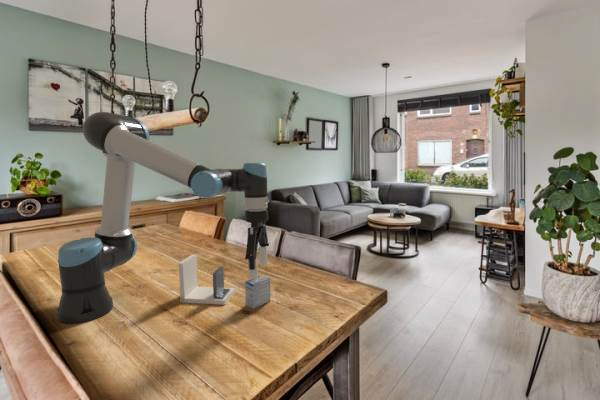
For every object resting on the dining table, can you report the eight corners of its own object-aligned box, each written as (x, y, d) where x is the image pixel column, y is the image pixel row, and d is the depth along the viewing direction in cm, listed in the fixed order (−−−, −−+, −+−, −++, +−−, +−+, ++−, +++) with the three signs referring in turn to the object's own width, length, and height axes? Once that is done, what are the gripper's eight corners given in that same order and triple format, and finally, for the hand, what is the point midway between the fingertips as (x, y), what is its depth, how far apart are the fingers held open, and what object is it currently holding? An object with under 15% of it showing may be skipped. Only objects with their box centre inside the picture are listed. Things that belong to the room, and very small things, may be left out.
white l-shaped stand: (180, 302, 112) (178, 263, 110) (194, 289, 122) (192, 254, 120) (225, 304, 110) (223, 265, 108) (234, 292, 120) (233, 255, 118)
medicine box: (262, 297, 115) (261, 274, 114) (270, 301, 113) (270, 277, 112) (245, 305, 109) (244, 281, 108) (254, 309, 107) (253, 284, 105)
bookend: (213, 298, 111) (212, 273, 110) (221, 290, 118) (220, 266, 117) (223, 298, 111) (222, 273, 110) (229, 290, 118) (229, 266, 117)
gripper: (258, 216, 94) (260, 285, 97) (275, 204, 118) (276, 259, 121) (233, 216, 95) (236, 285, 98) (255, 204, 119) (257, 259, 122)
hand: (258, 271), depth 109 cm, fingers open, 13 cm apart
